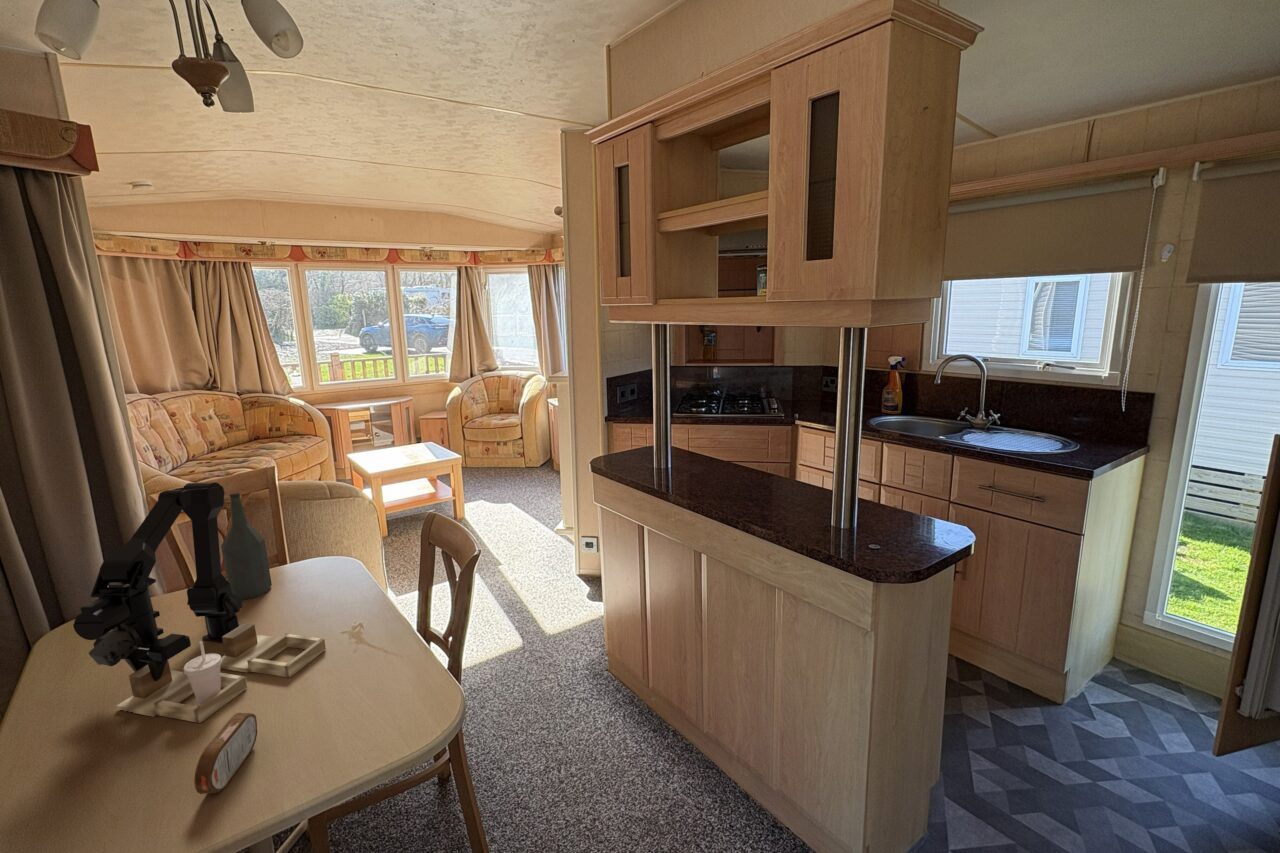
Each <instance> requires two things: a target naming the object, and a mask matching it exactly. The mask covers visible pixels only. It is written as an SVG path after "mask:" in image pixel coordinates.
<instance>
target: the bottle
mask: <svg viewBox="0 0 1280 853" xmlns="http://www.w3.org/2000/svg"><path fill="white" fill-rule="evenodd" d="M240 495H241V493H240V492H239V491H234V492H231V493H230V494H229V498H230V514H231V518H230V519H231V527H230V528H229V530H228V532H227V533H226V536H225V538H224V540H223V541H222V543H221V545H220V548H221V553H222V558H223V559H222V560H223V564H224V570H225V576H226V577H225V578H226V580H227V581H228V582H229V583H230V586H231V591H232V594H234V595H236V596H238V597H240V598H242V599H243V600H250V598H251V599H254V598H253V597H255V598H257V597H260V596H261V594H262V595H263V593H264V594H266V593H267V592H268V591H269V590H270V589H271V587H272V585H273V584H272V577H271V572H270V564H269V559H268V554H267V549H266V548H267V547H266V542H265V541H266V540H265V538H264V537H263V536H262V534H260V533H259V532H258V531H257V530H256V529H255V528H254V527H253V526H252V525H250V524H249V522H248V519H247V517H246V516H247V515H246V512H245V510H244V507H243V504H242V500H241V496H240ZM269 588H270V589H269ZM265 592H266V593H265ZM259 595H260V596H259Z"/></svg>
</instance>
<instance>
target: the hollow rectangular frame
mask: <svg viewBox="0 0 1280 853" xmlns="http://www.w3.org/2000/svg"><path fill="white" fill-rule="evenodd" d="M222 639H223V642H222V644H223V649H224V655H223V656H221V659H222V662H221V664H220V670H221V669H222V670H229V671H235V672H241V673H249V672H251V673H258V674H263V675H265V674H266V675H271V676H272V675H273V676H277V677H283V678H292V677H293V676H294V675H295V674H296V673H298V672H299V671H300V670H302V669H303V668H304V667H305V666H307V665H308V664H309V663H311V662H312V661H313V660H314V659H315V658H317V657H318V656H320V654H322V653H323V652H324V651H326V650H327V648H326V647H327V646H326V641H325V638H322V637H321V638H320V637H313V636H307V635H306V636H305V635H298V634H290V633H285V634H283V635H281V636H280V637H276V636H270V635H269V636H268V635H261V634H257V631H256V624H254V623H246V622H244V623H241V624H239V627H237V628H235V629H234V630H232V631H231V632H229V633H227V634H226V635H224V636H223V637H222ZM286 648H294V649H295V648H296V649H303V650H304V651H302V652H301V653H300V654H298V655H297V656H295V657H294V658H293V659H292V660H290V661H289V662H283V661H276V660H271V659H273V658H274V657H276V656H277V655H279V654H280V653H281V652H282V651H284V650H285V649H286Z"/></svg>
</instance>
